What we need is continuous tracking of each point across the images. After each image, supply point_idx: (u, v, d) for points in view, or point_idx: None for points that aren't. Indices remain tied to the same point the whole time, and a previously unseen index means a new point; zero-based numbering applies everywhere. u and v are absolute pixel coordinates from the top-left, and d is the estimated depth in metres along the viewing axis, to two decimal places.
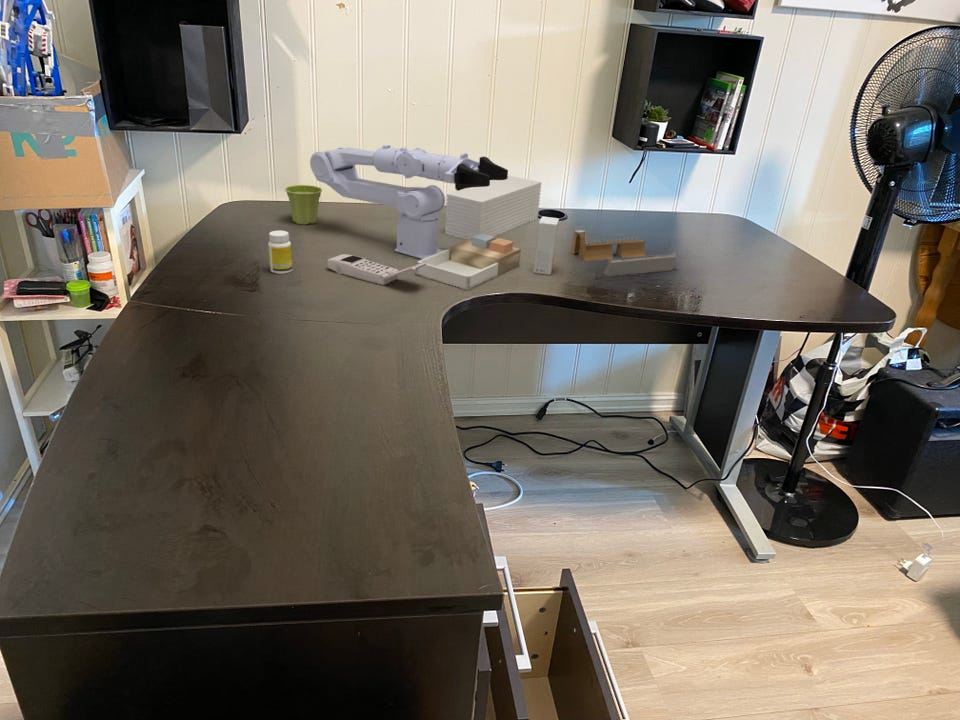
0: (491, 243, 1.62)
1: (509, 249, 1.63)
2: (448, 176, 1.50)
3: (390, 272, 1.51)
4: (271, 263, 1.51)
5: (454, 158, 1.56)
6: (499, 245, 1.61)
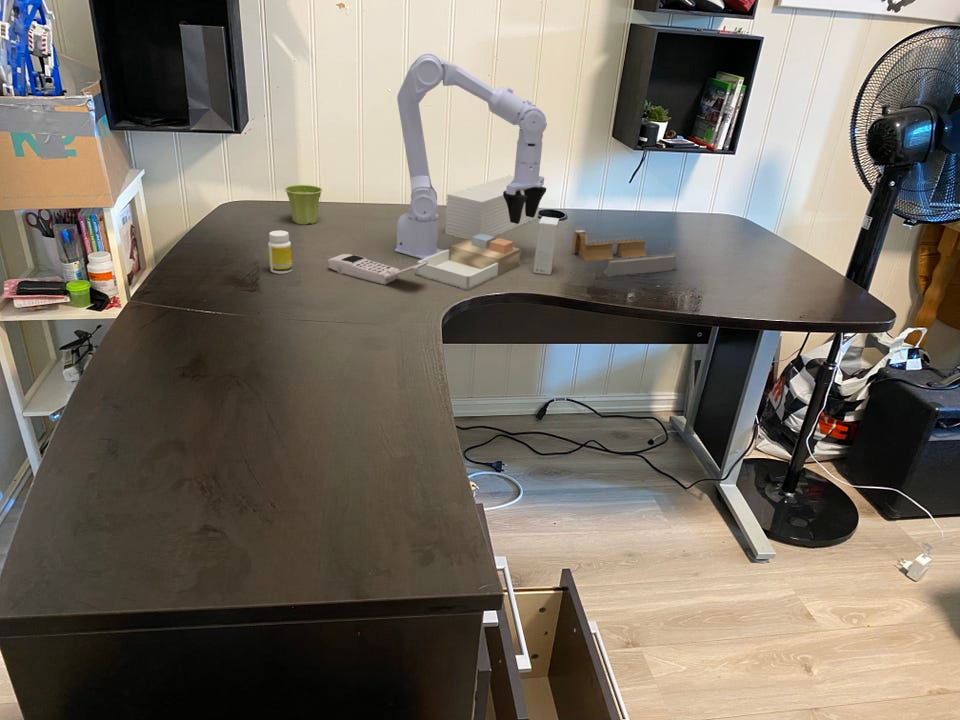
0: (491, 243, 1.62)
1: (509, 249, 1.63)
2: (511, 191, 1.59)
3: (391, 271, 1.51)
4: (271, 263, 1.51)
5: (535, 175, 1.62)
6: (499, 245, 1.61)
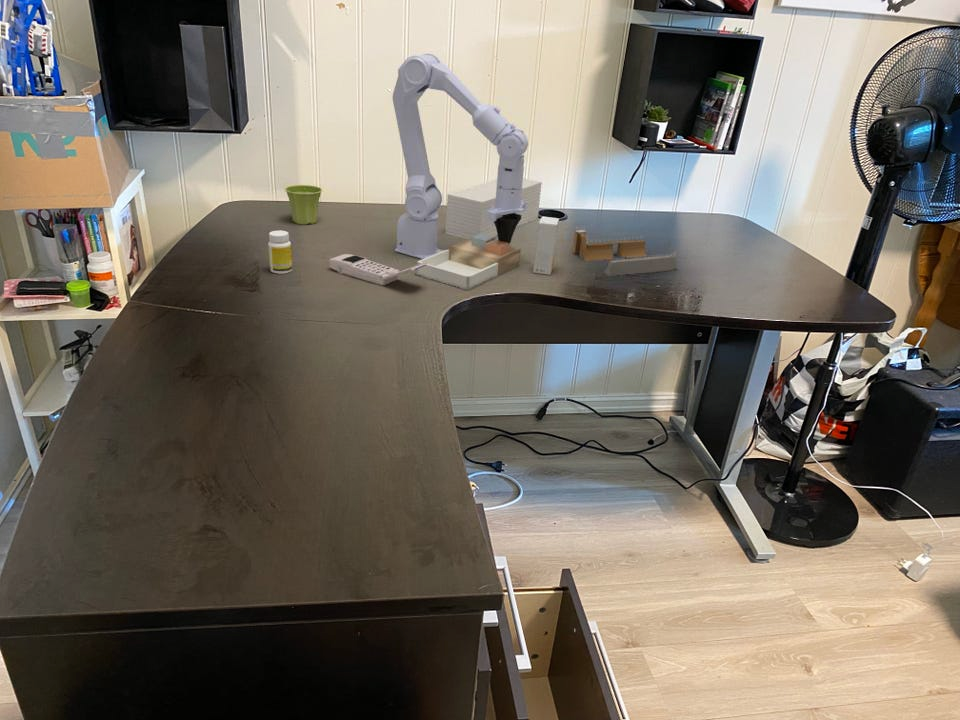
0: (487, 245, 1.61)
1: (505, 251, 1.62)
2: (492, 217, 1.55)
3: (390, 272, 1.51)
4: (271, 263, 1.51)
5: (517, 201, 1.58)
6: (495, 247, 1.60)
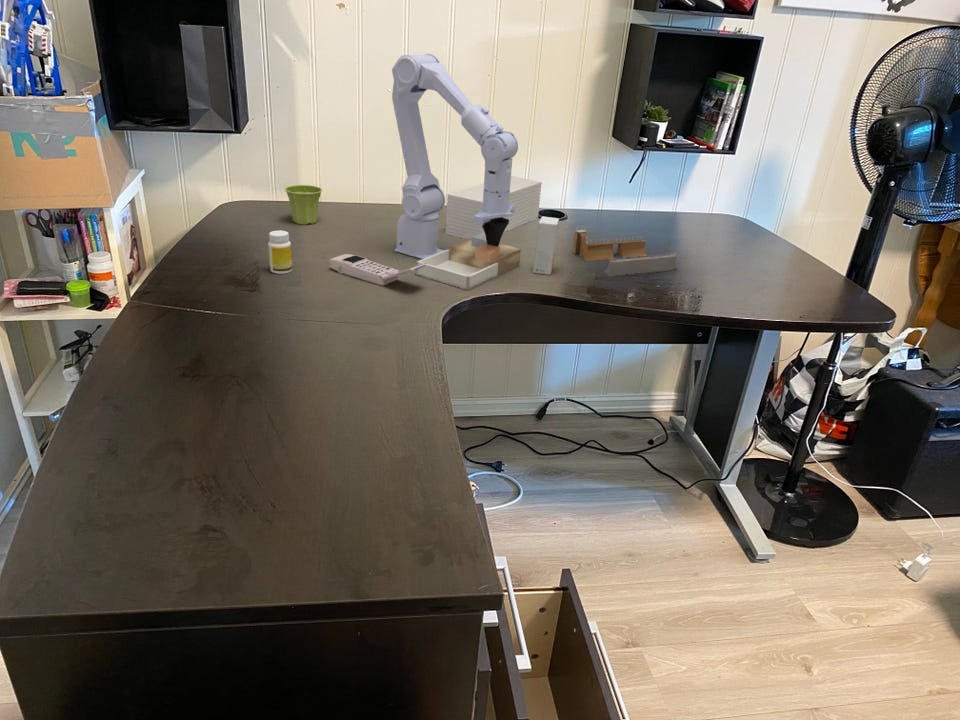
0: (476, 251, 1.57)
1: (495, 256, 1.58)
2: (478, 221, 1.51)
3: (390, 273, 1.51)
4: (271, 263, 1.51)
5: (505, 205, 1.54)
6: (485, 253, 1.56)
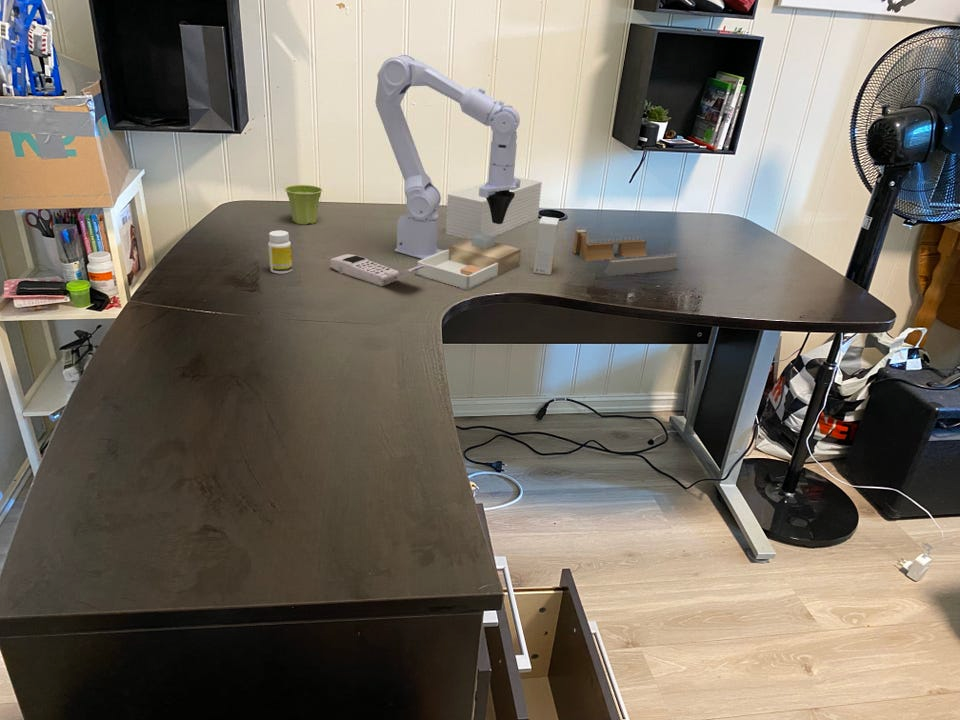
0: None
1: None
2: (484, 193, 1.55)
3: (389, 273, 1.50)
4: (271, 263, 1.51)
5: (510, 178, 1.58)
6: None
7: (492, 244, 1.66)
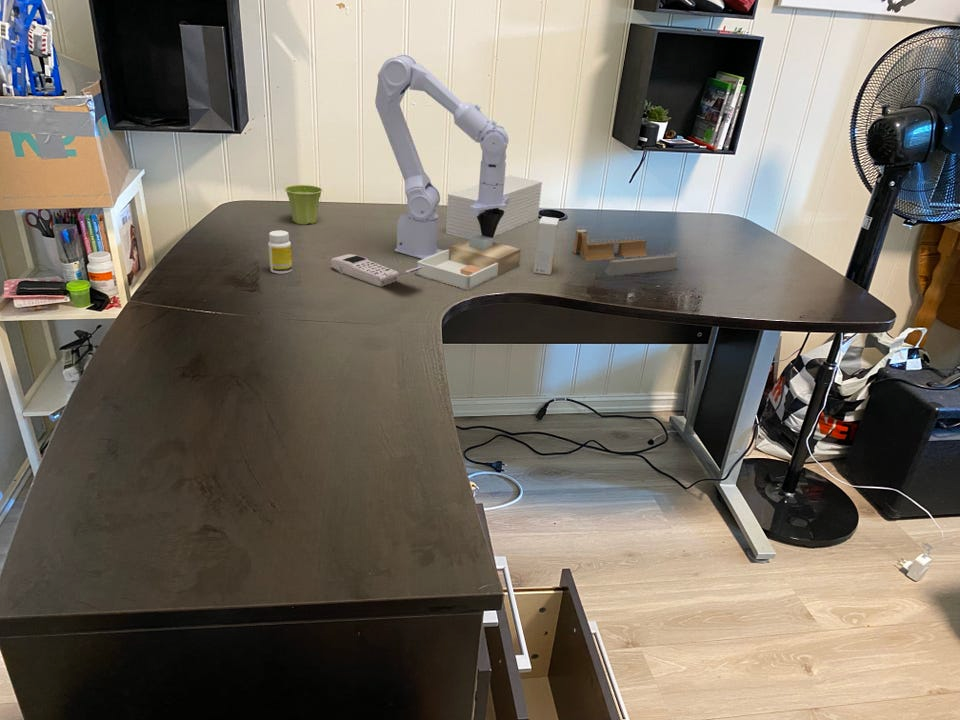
0: None
1: None
2: (474, 212, 1.58)
3: (389, 274, 1.50)
4: (271, 263, 1.51)
5: (499, 196, 1.61)
6: None
7: (490, 245, 1.65)
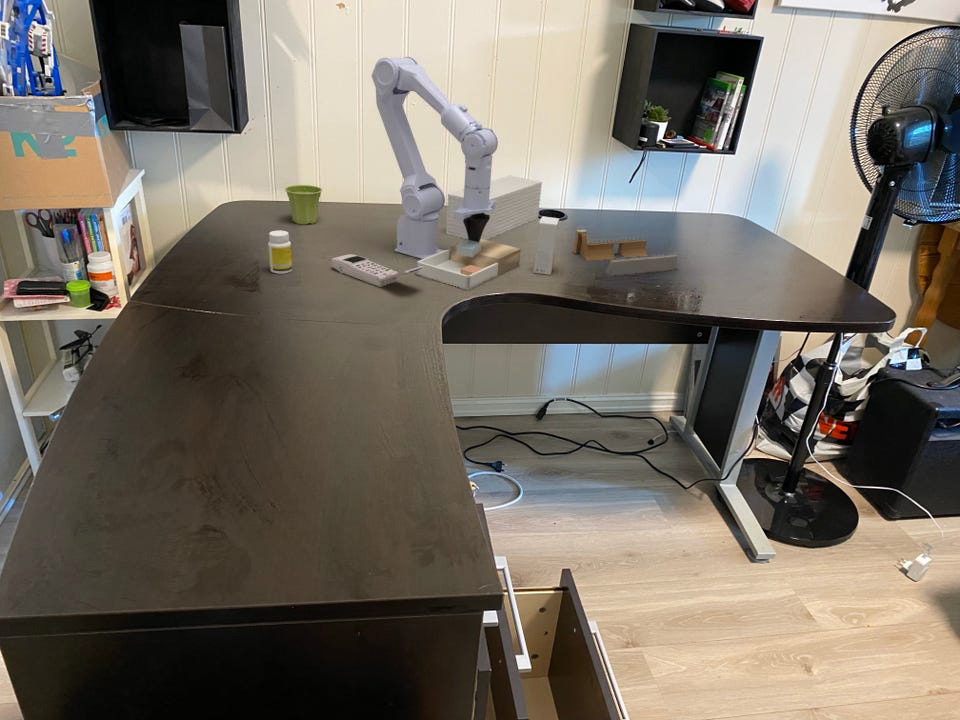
0: None
1: None
2: (459, 217, 1.53)
3: (388, 274, 1.50)
4: (271, 263, 1.51)
5: (485, 200, 1.56)
6: None
7: (478, 250, 1.61)
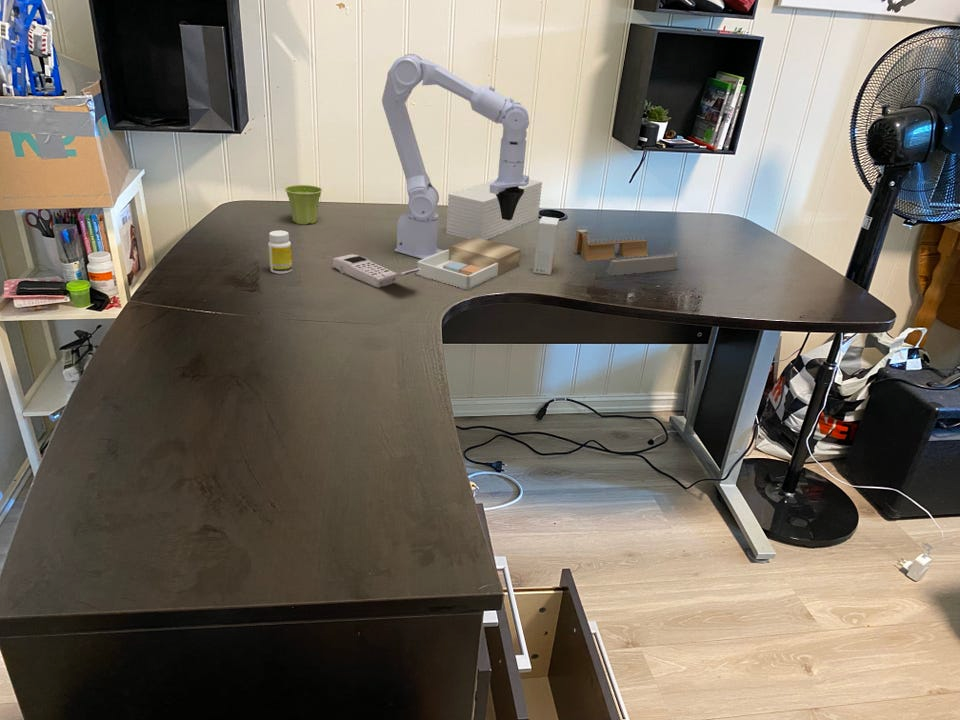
0: None
1: None
2: (494, 190, 1.57)
3: (387, 275, 1.49)
4: (271, 263, 1.51)
5: (520, 174, 1.59)
6: None
7: None
